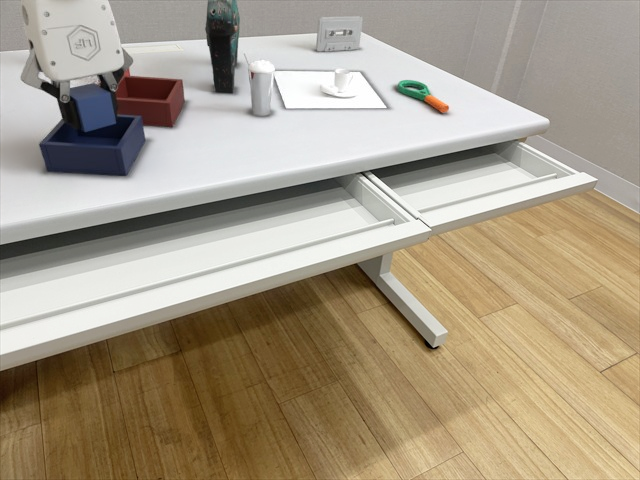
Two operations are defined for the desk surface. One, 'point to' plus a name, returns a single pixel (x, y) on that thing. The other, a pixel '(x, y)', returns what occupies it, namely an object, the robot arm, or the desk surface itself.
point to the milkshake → (261, 86)
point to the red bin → (151, 99)
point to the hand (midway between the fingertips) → (92, 120)
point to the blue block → (93, 106)
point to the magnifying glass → (422, 94)
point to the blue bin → (94, 147)
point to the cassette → (338, 41)
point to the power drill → (223, 42)
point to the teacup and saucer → (326, 89)
